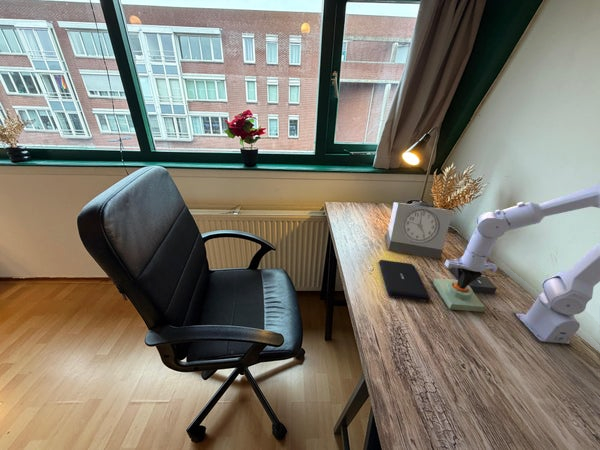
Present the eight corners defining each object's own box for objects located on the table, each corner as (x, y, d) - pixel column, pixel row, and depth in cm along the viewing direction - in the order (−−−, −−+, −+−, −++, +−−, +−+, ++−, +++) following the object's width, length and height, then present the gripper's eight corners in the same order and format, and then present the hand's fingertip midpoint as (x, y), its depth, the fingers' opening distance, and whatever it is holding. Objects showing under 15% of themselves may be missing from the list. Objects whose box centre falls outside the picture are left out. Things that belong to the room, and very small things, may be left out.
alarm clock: (388, 250, 103) (400, 206, 94) (385, 232, 117) (396, 192, 108) (440, 259, 100) (458, 214, 90) (431, 240, 113) (446, 199, 104)
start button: (468, 295, 78) (470, 291, 77) (455, 294, 78) (457, 290, 77) (461, 286, 81) (463, 282, 81) (449, 285, 82) (451, 281, 81)
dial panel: (494, 293, 83) (497, 287, 82) (467, 291, 84) (470, 285, 82) (473, 271, 94) (476, 265, 93) (450, 269, 94) (452, 263, 93)
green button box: (482, 311, 76) (487, 302, 74) (449, 309, 76) (454, 299, 74) (461, 285, 86) (465, 276, 84) (432, 283, 86) (436, 274, 85)
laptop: (421, 268, 93) (422, 264, 93) (431, 306, 76) (433, 301, 75) (378, 260, 97) (379, 255, 96) (378, 294, 80) (380, 289, 79)
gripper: (493, 245, 76) (476, 279, 82) (446, 242, 76) (432, 276, 83) (509, 259, 70) (489, 294, 76) (458, 255, 70) (442, 291, 76)
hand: (460, 286), depth 79 cm, fingers closed, pressing on start button
